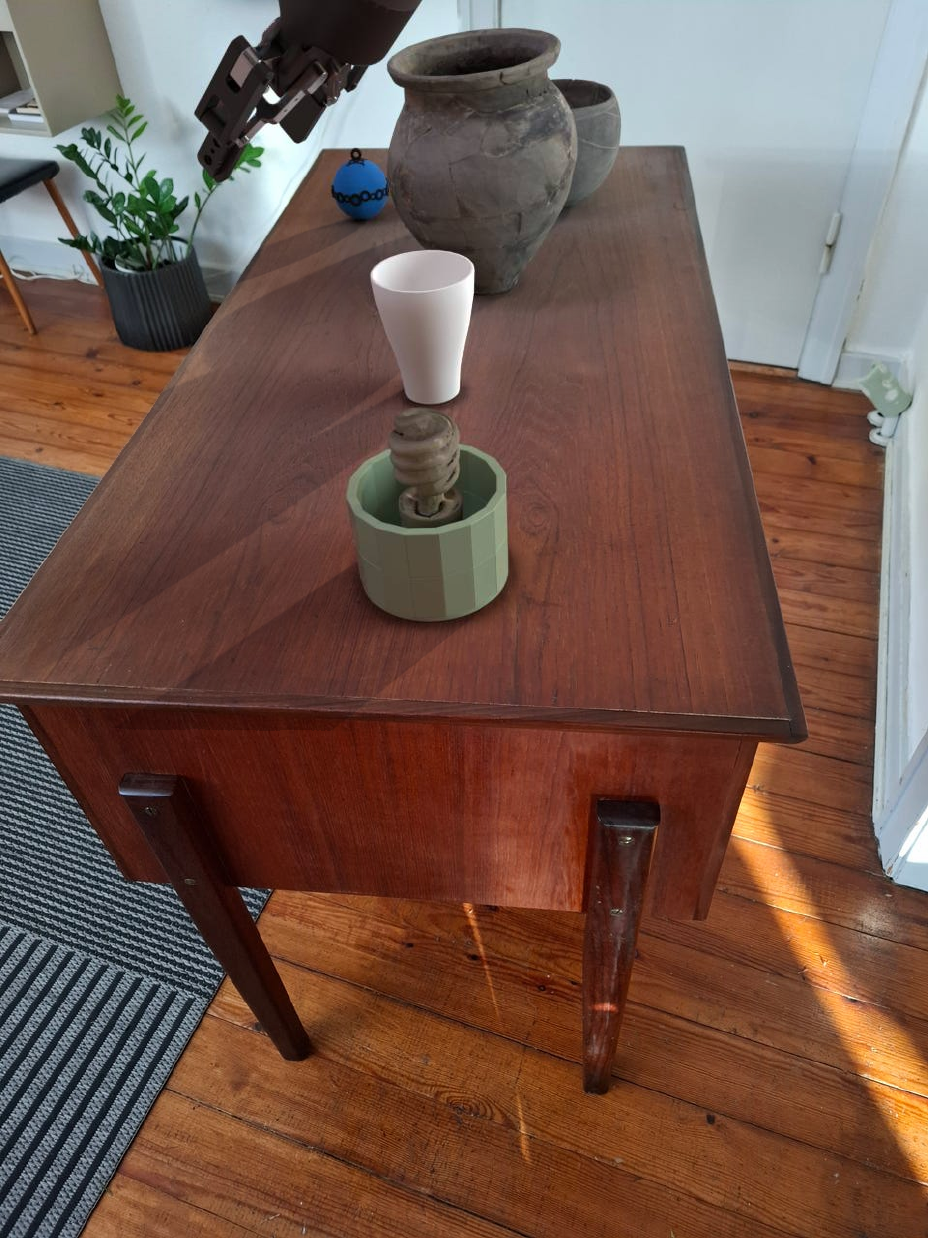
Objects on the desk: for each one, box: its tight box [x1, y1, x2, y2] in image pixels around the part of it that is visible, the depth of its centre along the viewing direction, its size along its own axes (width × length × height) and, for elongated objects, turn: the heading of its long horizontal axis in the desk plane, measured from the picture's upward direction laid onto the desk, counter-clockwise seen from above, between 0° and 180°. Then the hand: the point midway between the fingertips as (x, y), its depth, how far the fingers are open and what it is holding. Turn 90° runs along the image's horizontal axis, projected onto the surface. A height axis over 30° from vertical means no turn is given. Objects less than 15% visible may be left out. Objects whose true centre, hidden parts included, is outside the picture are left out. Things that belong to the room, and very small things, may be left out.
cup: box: [370, 249, 475, 405], centre depth 94 cm, size 10×10×14 cm
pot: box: [345, 443, 509, 623], centre depth 74 cm, size 13×13×9 cm
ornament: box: [330, 147, 390, 221], centre depth 135 cm, size 9×9×10 cm
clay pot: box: [386, 27, 578, 296], centre depth 107 cm, size 23×25×30 cm
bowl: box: [550, 78, 622, 209], centre depth 134 cm, size 21×21×15 cm
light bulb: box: [387, 407, 463, 529], centre depth 71 cm, size 6×6×15 cm
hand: (251, 150), depth 61 cm, fingers open, 8 cm apart
